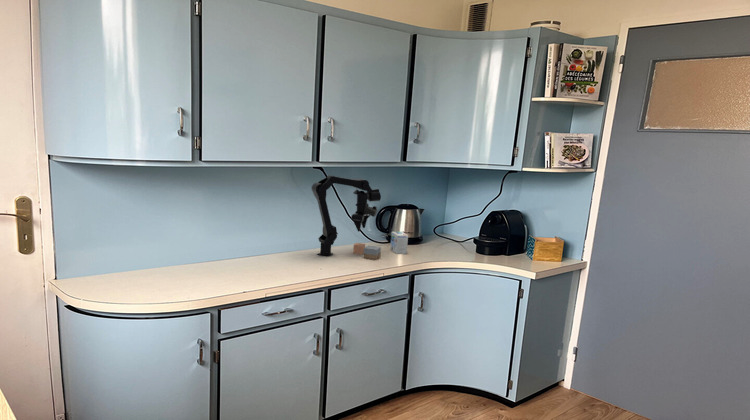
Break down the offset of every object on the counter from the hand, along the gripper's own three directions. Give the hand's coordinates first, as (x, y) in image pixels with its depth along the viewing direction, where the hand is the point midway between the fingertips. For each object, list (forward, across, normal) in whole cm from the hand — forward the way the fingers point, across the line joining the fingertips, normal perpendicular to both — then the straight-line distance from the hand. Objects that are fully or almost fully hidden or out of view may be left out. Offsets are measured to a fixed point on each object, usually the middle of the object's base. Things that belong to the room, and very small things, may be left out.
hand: (361, 229), depth 276 cm
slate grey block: (+10, -8, -9) cm, 16 cm away
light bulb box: (+14, +13, -18) cm, 27 cm away
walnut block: (+13, -8, -9) cm, 18 cm away
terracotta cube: (+13, -1, +1) cm, 13 cm away
